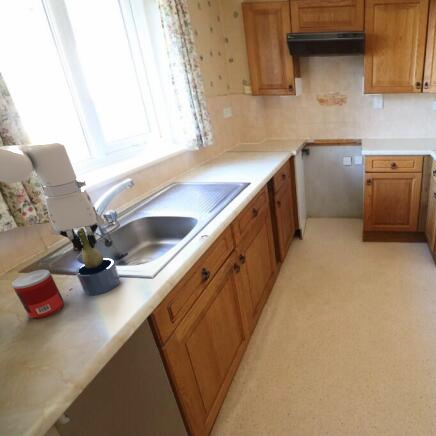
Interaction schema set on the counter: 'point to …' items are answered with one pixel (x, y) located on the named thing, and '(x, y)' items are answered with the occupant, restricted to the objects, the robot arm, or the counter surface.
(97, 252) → the fennel bulb
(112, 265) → the crock
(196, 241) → the counter surface
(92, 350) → the counter surface
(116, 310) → the counter surface
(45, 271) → the canned food
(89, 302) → the counter surface
